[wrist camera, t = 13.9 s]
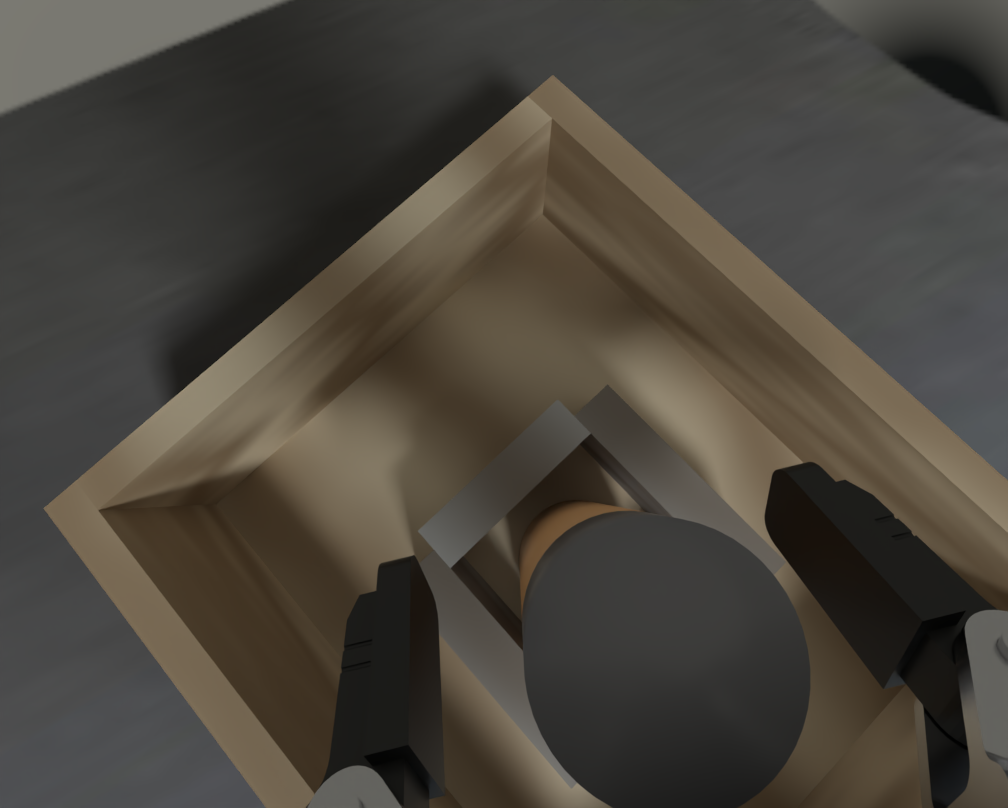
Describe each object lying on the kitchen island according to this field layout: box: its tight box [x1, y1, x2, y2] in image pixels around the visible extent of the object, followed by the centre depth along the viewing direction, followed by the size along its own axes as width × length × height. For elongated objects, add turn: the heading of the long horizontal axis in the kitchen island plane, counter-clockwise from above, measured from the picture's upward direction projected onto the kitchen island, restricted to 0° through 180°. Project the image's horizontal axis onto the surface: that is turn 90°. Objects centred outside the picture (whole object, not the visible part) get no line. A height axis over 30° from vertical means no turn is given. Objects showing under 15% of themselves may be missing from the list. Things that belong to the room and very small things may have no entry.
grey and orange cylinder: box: [519, 500, 811, 808], centre depth 12 cm, size 4×4×10 cm
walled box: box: [44, 75, 1008, 808], centre depth 15 cm, size 18×22×6 cm
